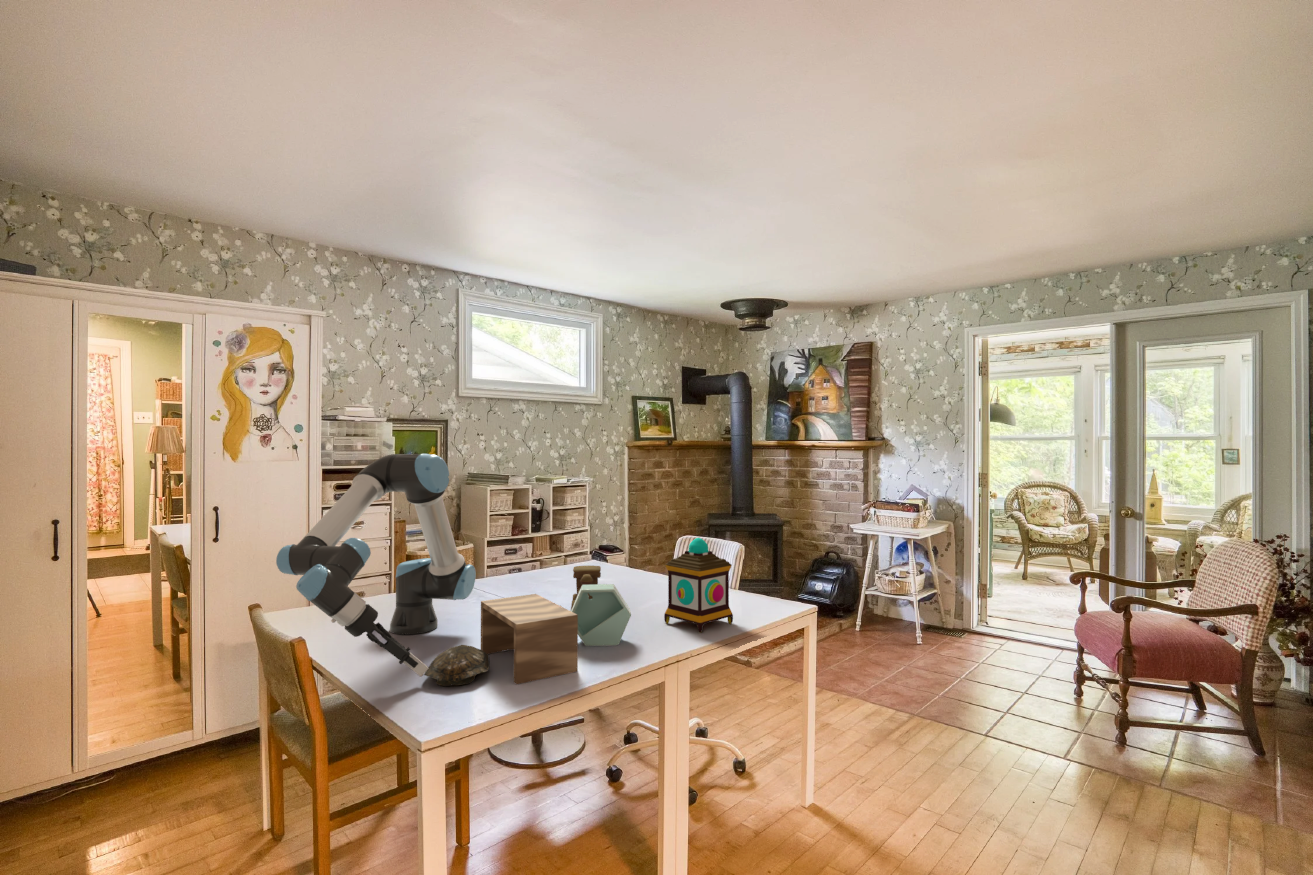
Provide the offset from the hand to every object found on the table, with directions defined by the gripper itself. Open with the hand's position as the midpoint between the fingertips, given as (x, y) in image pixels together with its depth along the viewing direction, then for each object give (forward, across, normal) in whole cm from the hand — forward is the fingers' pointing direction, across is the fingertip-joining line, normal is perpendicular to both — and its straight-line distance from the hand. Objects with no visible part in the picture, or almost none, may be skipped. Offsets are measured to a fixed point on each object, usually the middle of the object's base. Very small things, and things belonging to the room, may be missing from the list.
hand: (424, 671), depth 163 cm
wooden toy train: (+48, -38, +45) cm, 76 cm away
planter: (+41, -7, +37) cm, 55 cm away
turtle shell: (+9, -1, +4) cm, 10 cm away
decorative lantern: (+68, -7, +65) cm, 94 cm away
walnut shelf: (+22, -2, +18) cm, 28 cm away
